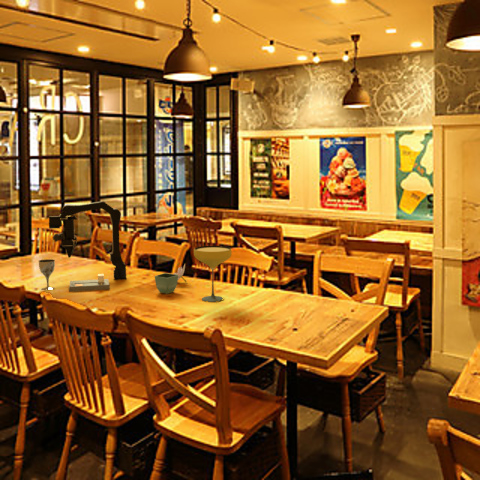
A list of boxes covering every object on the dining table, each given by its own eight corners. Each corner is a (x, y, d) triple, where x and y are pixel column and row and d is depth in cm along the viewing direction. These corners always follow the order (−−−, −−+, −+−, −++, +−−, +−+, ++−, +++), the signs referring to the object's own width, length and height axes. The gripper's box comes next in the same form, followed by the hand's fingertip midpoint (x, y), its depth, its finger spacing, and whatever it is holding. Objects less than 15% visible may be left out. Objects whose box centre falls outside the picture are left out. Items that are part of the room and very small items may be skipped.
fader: (103, 283, 301) (103, 273, 300) (104, 285, 296) (103, 275, 295) (98, 283, 300) (97, 273, 299) (98, 285, 295) (98, 275, 294)
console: (108, 283, 306) (108, 278, 305) (109, 289, 292) (109, 284, 292) (70, 285, 301) (70, 280, 300) (69, 291, 287) (69, 286, 287)
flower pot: (167, 295, 280) (167, 277, 279) (154, 293, 285) (154, 275, 283) (178, 291, 288) (178, 274, 286) (165, 289, 292) (165, 272, 291)
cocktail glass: (187, 301, 268) (187, 250, 264) (203, 293, 285) (203, 244, 281) (222, 305, 262) (222, 252, 258) (236, 296, 278) (237, 247, 275)
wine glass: (41, 291, 288) (39, 262, 285) (38, 288, 295) (37, 260, 292) (57, 289, 291) (55, 261, 289) (54, 286, 298) (53, 258, 296)
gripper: (55, 226, 313) (57, 253, 316) (50, 230, 295) (52, 259, 298) (76, 225, 315) (78, 252, 318) (72, 230, 297) (74, 258, 299)
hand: (70, 256), depth 308 cm, fingers open, 9 cm apart
